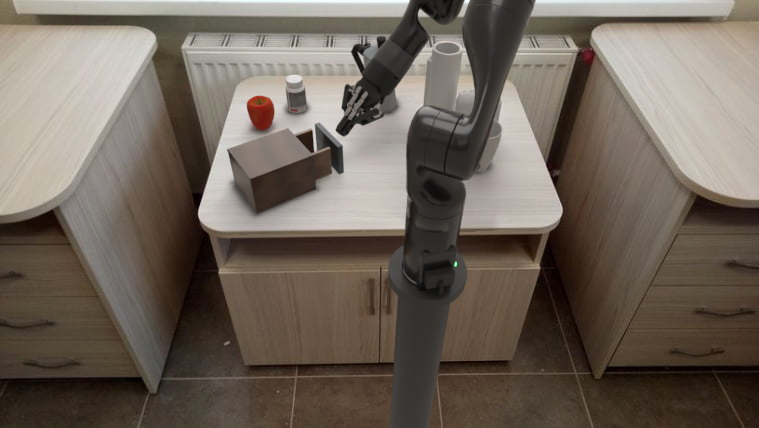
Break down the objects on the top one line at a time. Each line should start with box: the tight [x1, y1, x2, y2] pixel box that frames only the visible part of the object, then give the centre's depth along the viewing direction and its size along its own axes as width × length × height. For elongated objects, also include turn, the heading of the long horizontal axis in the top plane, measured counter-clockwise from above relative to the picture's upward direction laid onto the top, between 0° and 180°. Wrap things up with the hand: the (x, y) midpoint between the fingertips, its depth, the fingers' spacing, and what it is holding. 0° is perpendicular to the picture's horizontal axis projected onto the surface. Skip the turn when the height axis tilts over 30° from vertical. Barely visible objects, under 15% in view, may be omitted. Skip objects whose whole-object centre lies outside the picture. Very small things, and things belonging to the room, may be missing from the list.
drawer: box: [293, 122, 345, 181], centre depth 115 cm, size 14×10×7 cm
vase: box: [422, 40, 464, 111], centre depth 127 cm, size 11×7×20 cm, turn 1°
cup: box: [476, 120, 504, 173], centre depth 118 cm, size 8×8×10 cm
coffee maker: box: [350, 35, 398, 114], centre depth 132 cm, size 15×9×18 cm, turn 56°
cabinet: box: [226, 127, 317, 214], centre depth 112 cm, size 14×11×9 cm
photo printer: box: [455, 89, 502, 122], centre depth 124 cm, size 10×4×12 cm, turn 85°
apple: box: [246, 95, 276, 131], centre depth 128 cm, size 6×6×8 cm
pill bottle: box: [285, 74, 308, 114], centre depth 133 cm, size 5×5×8 cm
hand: (339, 133), depth 116 cm, fingers closed
